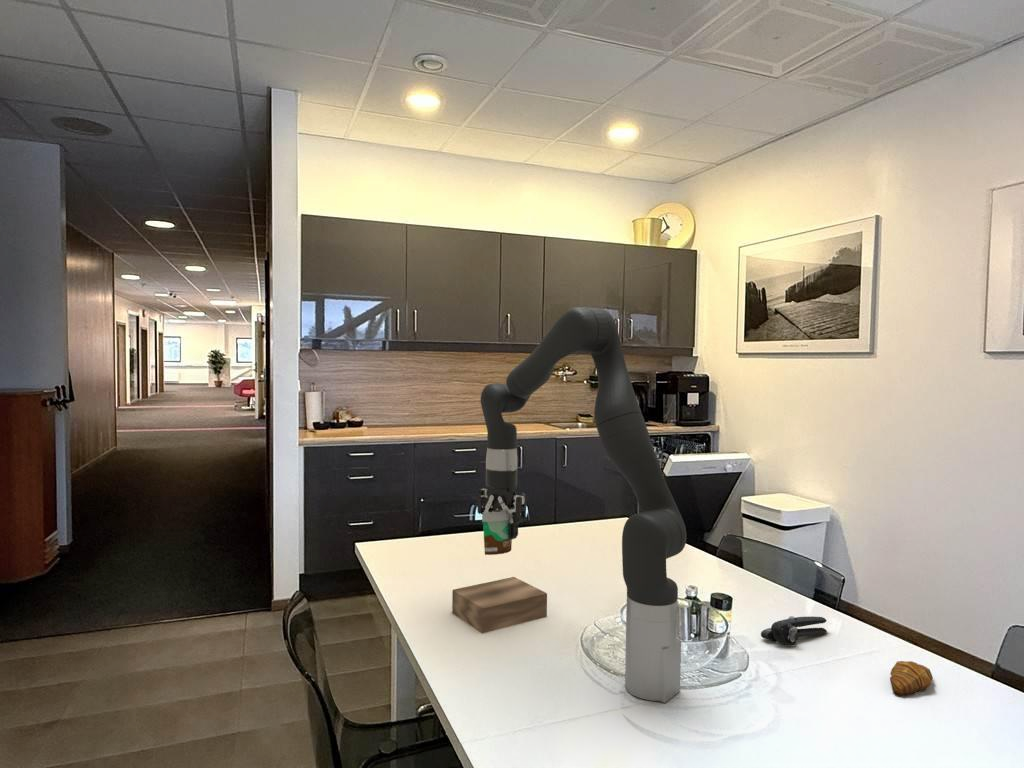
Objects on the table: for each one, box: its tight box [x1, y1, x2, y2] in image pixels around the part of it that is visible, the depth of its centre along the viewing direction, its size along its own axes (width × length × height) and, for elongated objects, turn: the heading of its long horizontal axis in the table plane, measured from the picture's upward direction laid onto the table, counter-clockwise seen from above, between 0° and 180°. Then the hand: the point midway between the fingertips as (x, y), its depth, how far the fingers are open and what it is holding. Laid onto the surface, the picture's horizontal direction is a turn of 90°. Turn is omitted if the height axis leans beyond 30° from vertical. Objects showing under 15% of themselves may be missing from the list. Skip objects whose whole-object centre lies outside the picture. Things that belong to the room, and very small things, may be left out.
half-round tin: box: [481, 508, 514, 556], centre depth 150 cm, size 12×6×10 cm, turn 164°
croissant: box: [889, 660, 934, 697], centre depth 119 cm, size 14×7×5 cm, turn 127°
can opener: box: [760, 615, 828, 647], centre depth 139 cm, size 18×7×6 cm, turn 115°
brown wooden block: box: [451, 576, 548, 634], centre depth 150 cm, size 14×18×6 cm
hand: (500, 535), depth 150 cm, fingers closed on half-round tin, 7 cm apart
